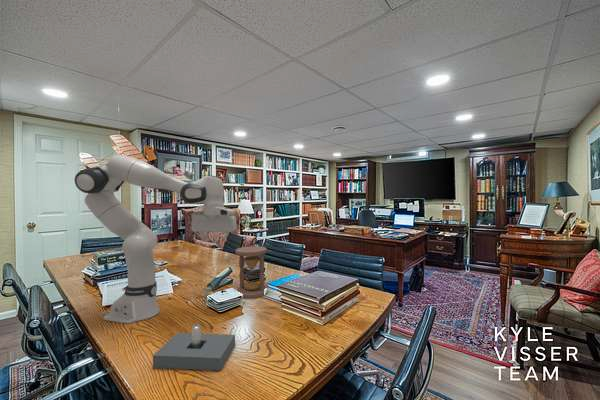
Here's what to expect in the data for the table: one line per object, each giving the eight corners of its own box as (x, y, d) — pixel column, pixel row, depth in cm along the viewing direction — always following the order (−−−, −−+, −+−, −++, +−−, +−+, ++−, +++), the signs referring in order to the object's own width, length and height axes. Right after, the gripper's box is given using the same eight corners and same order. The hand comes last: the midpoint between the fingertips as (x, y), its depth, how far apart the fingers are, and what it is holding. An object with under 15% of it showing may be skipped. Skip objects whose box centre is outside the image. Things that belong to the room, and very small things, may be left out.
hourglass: (273, 291, 152) (273, 247, 152) (252, 301, 137) (252, 253, 137) (251, 285, 161) (250, 245, 161) (229, 294, 146) (228, 250, 146)
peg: (190, 358, 88) (189, 328, 88) (194, 353, 91) (194, 324, 91) (198, 358, 88) (198, 328, 88) (202, 353, 91) (202, 324, 91)
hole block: (153, 368, 83) (152, 355, 83) (177, 343, 97) (177, 332, 97) (220, 370, 82) (220, 358, 82) (235, 345, 96) (235, 334, 96)
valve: (200, 301, 137) (218, 305, 132) (200, 289, 137) (218, 292, 132) (210, 297, 143) (227, 300, 138) (209, 285, 143) (227, 288, 138)
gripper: (188, 211, 117) (188, 242, 117) (233, 211, 116) (233, 242, 116) (195, 210, 124) (195, 240, 124) (237, 210, 122) (238, 240, 122)
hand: (214, 241), depth 120 cm, fingers open, 8 cm apart
